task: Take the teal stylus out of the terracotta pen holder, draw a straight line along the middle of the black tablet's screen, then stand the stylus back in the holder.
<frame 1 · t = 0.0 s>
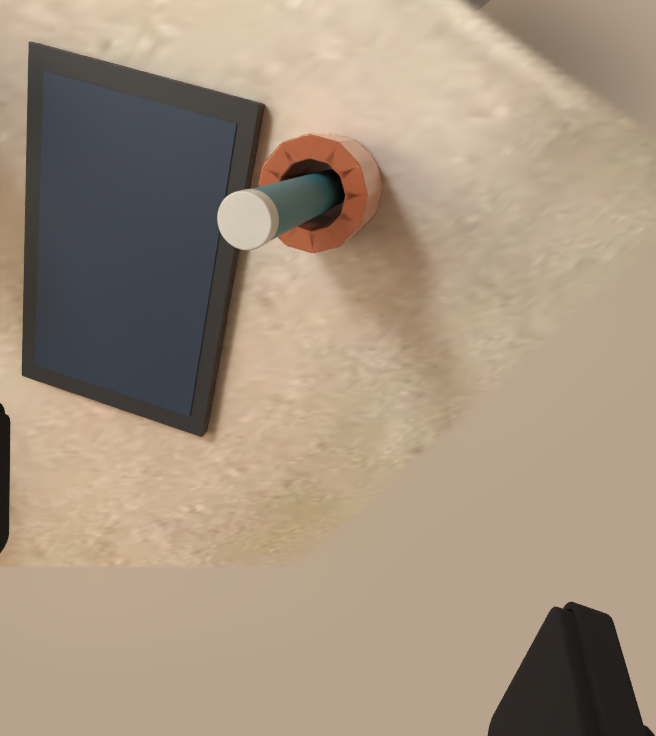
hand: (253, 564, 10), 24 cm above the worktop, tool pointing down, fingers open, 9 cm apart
stylus: (332, 187, 30), resting on holder
holder: (334, 186, 31), on the worktop
tablet: (131, 256, 35), on the worktop
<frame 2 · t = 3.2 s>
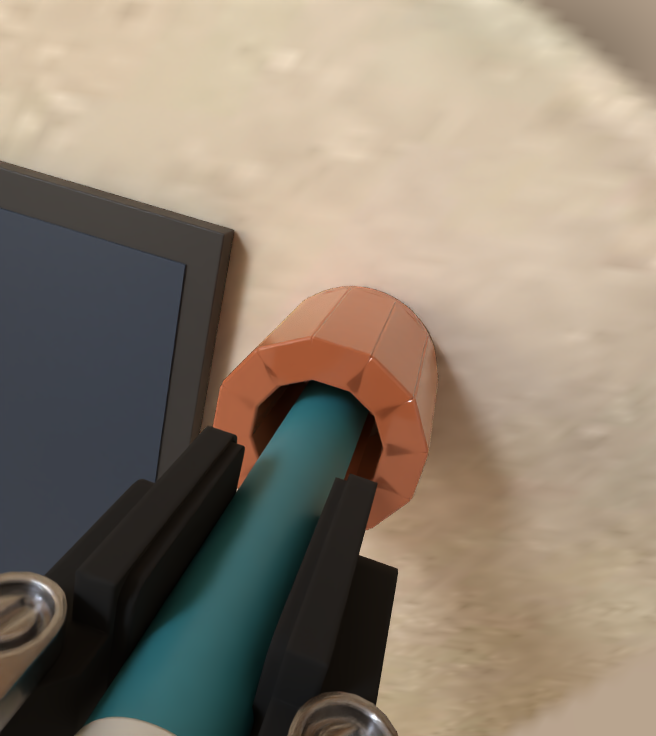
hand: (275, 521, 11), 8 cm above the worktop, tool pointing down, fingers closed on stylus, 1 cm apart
stylus: (351, 371, 18), point 1 cm above the worktop, touching gripper
holder: (354, 365, 18), on the worktop
tablet: (30, 442, 22), on the worktop
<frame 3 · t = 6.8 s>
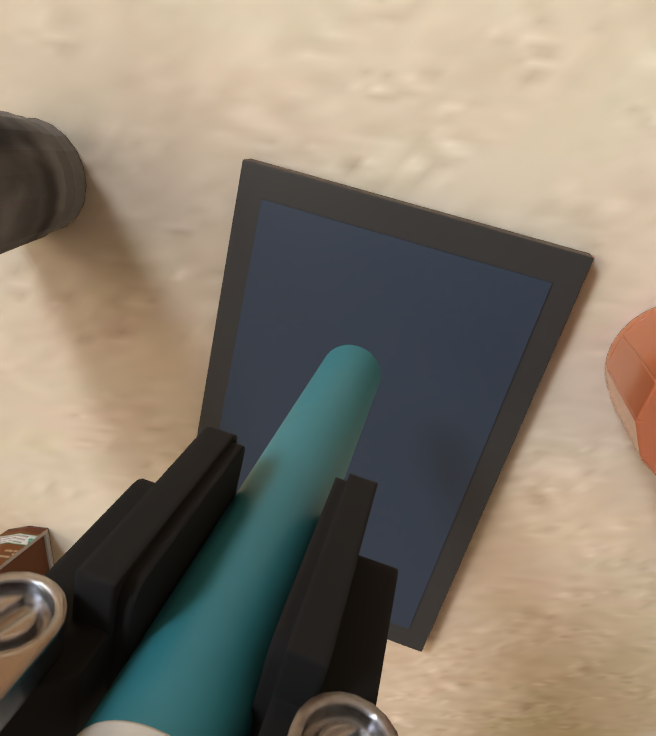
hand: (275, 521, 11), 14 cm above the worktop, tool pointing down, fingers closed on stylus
stylus: (351, 372, 18), point 6 cm above the worktop, touching gripper
beverage cup: (40, 175, 25), on the worktop
food container: (15, 580, 35), on the worktop
tablet: (347, 430, 26), on the worktop
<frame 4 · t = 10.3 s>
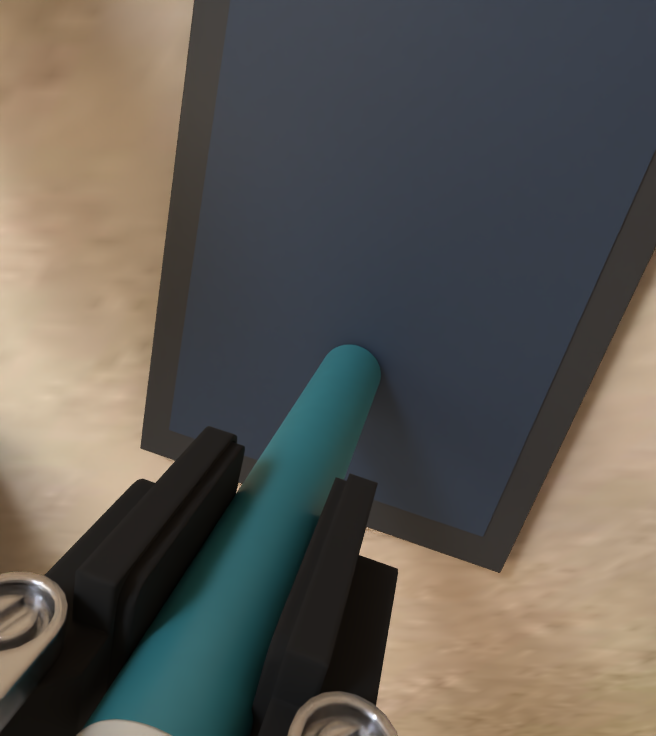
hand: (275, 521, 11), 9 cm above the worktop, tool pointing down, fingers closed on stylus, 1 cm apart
stylus: (351, 372, 18), point 1 cm above the worktop, touching gripper
tablet: (398, 215, 17), on the worktop
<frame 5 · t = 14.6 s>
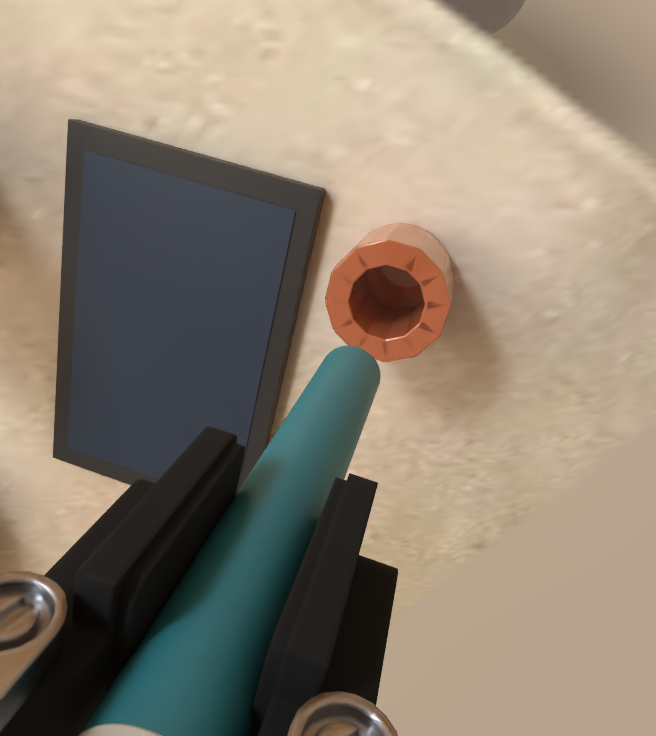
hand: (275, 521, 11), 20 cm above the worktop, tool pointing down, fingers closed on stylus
stylus: (350, 373, 18), point 12 cm above the worktop, touching gripper
holder: (399, 276, 28), on the worktop
tablet: (173, 339, 32), on the worktop
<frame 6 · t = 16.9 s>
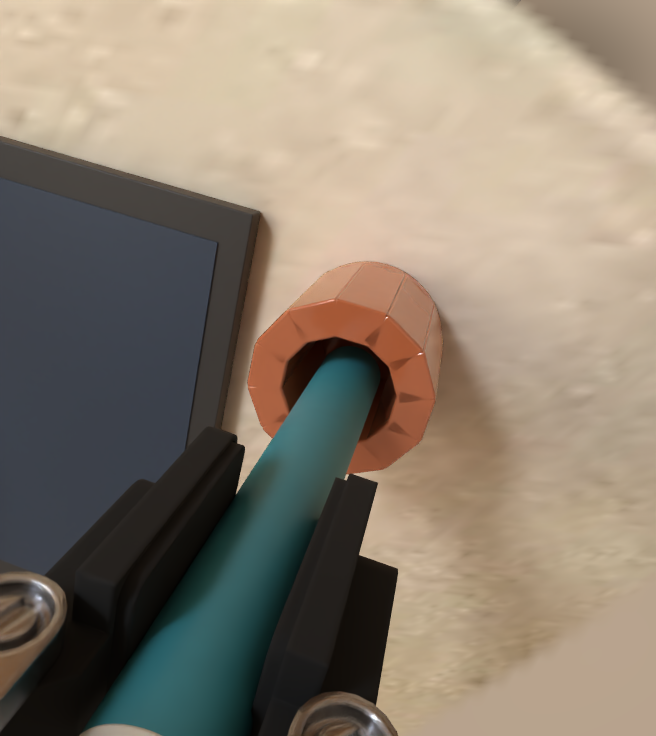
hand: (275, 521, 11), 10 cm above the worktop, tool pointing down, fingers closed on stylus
stylus: (350, 373, 18), point 3 cm above the worktop, touching gripper
holder: (367, 333, 20), on the worktop
tablet: (70, 408, 24), on the worktop
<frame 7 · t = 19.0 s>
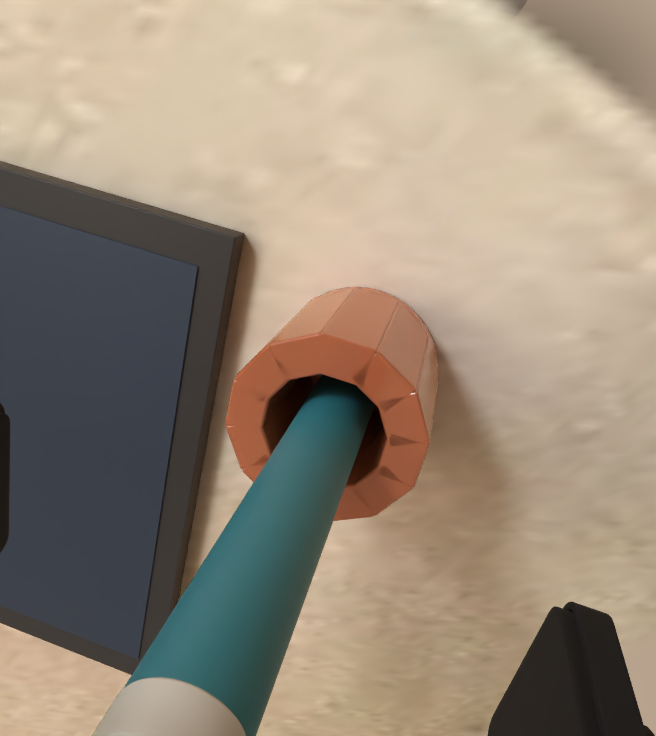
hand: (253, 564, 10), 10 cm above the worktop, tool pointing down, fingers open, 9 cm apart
stylus: (355, 375, 18), resting on holder
holder: (358, 363, 19), on the worktop
tablet: (44, 437, 23), on the worktop
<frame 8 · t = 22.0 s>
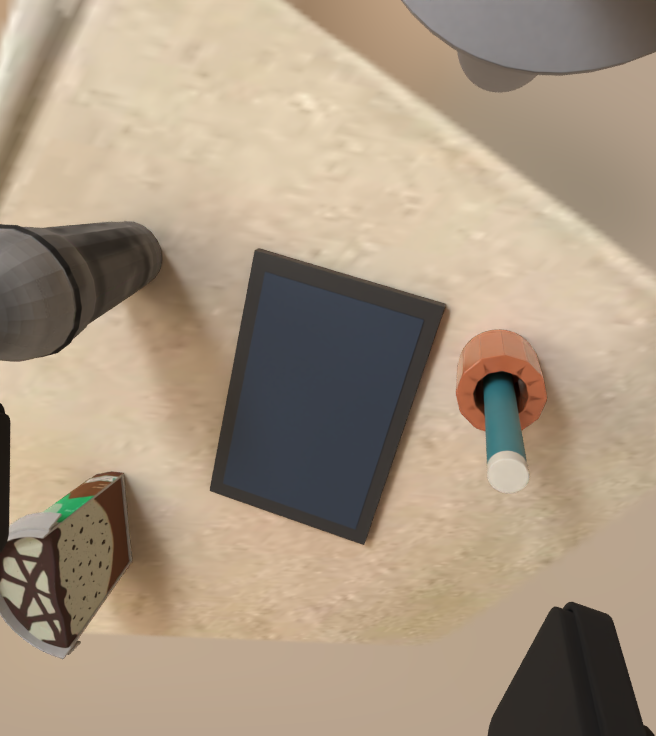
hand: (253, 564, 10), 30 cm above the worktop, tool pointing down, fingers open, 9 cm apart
stylus: (496, 371, 38), resting on holder
beverage cup: (134, 253, 42), on the worktop
food container: (97, 511, 52), on the worktop
holder: (497, 365, 39), on the worktop
tablet: (316, 404, 43), on the worktop
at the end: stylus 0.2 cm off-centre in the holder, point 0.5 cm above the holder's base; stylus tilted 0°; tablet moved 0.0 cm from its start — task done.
